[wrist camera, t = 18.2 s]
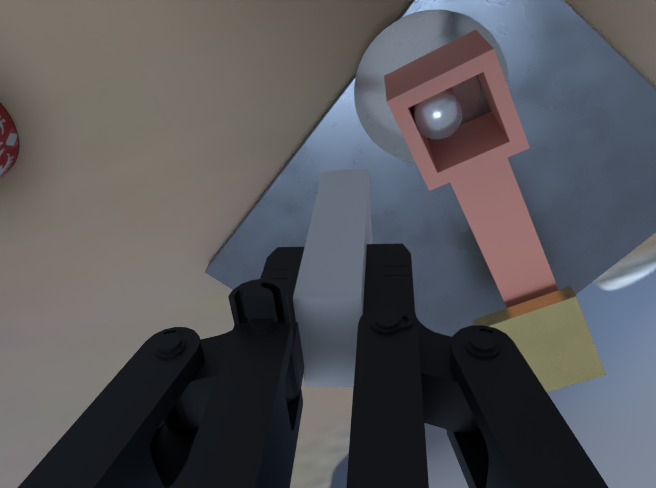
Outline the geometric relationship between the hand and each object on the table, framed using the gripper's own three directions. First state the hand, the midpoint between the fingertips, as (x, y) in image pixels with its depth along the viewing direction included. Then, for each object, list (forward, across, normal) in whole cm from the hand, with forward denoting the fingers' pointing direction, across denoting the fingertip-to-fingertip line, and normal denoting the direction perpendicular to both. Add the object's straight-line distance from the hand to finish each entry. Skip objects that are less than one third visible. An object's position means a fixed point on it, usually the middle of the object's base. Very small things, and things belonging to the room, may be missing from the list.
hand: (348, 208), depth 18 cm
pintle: (+17, +4, -1) cm, 17 cm away
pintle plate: (+18, +5, -11) cm, 21 cm away
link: (+17, +7, -8) cm, 20 cm away
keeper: (+18, +10, -16) cm, 26 cm away
